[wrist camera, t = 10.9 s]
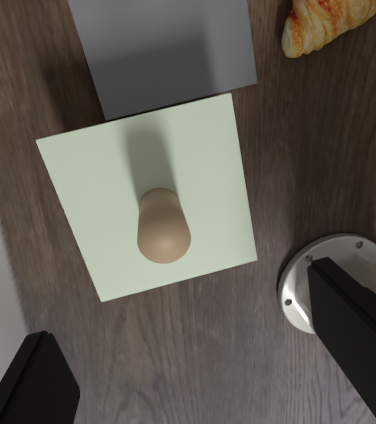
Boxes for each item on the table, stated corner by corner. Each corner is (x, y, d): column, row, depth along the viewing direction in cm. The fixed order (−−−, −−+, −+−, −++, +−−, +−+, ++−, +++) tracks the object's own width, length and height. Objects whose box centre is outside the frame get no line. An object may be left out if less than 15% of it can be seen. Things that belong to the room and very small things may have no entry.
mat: (229, -116, 21) (231, -121, 20) (255, 83, 25) (257, 83, 25) (44, -76, 20) (42, -80, 20) (106, 120, 25) (105, 120, 24)
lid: (227, 93, 21) (261, 89, 15) (253, 254, 25) (286, 301, 19) (40, 138, 20) (-5, 154, 14) (103, 294, 25) (89, 356, 19)
